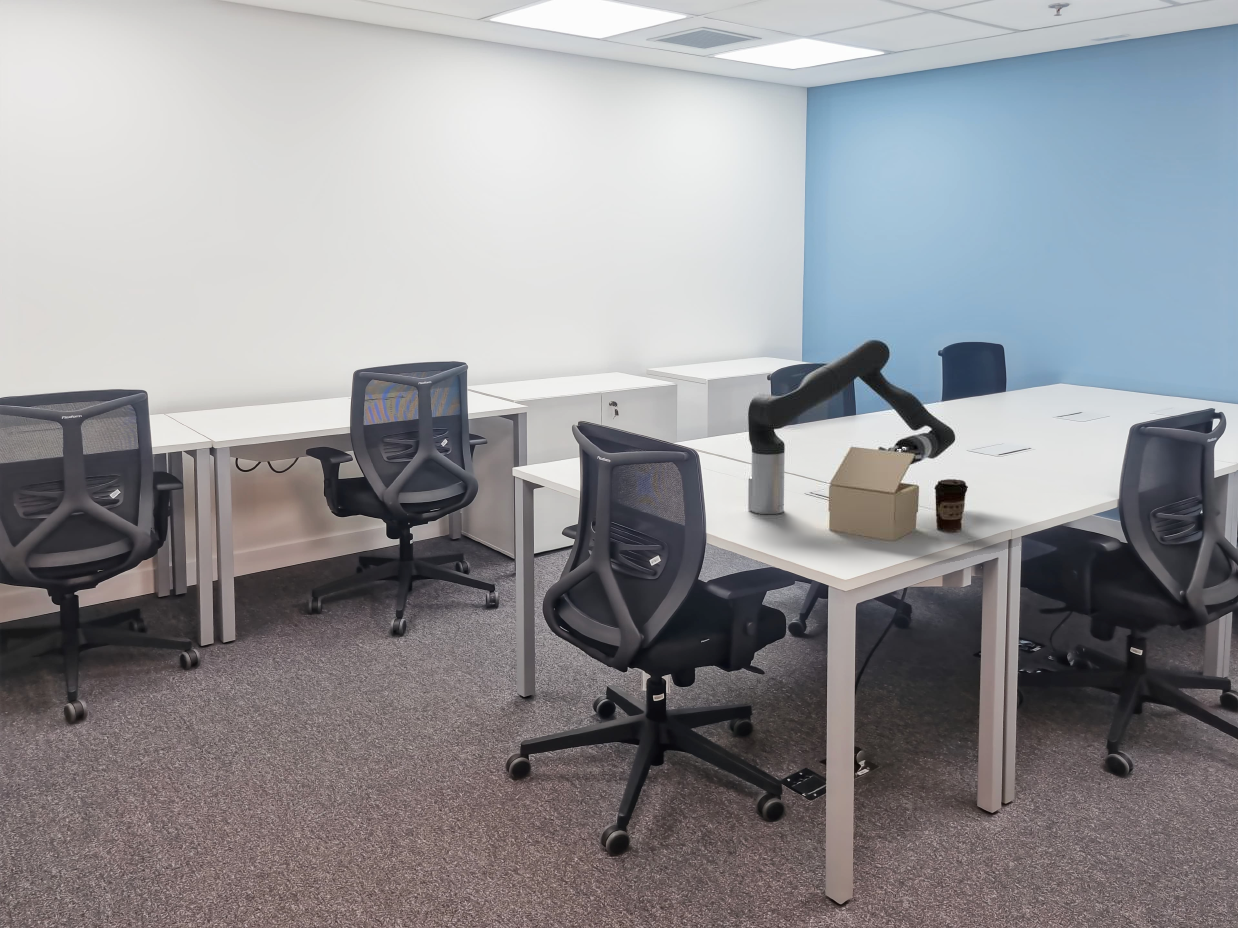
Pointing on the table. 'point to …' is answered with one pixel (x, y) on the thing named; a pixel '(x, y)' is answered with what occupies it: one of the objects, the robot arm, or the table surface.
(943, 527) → the coffee cup
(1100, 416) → the table surface
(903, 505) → the carton
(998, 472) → the table surface
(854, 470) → the lid flap
